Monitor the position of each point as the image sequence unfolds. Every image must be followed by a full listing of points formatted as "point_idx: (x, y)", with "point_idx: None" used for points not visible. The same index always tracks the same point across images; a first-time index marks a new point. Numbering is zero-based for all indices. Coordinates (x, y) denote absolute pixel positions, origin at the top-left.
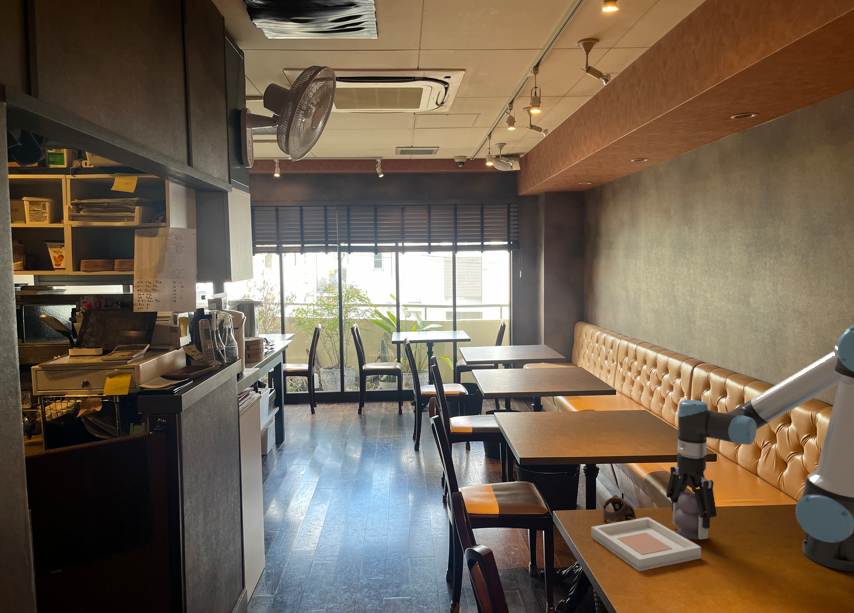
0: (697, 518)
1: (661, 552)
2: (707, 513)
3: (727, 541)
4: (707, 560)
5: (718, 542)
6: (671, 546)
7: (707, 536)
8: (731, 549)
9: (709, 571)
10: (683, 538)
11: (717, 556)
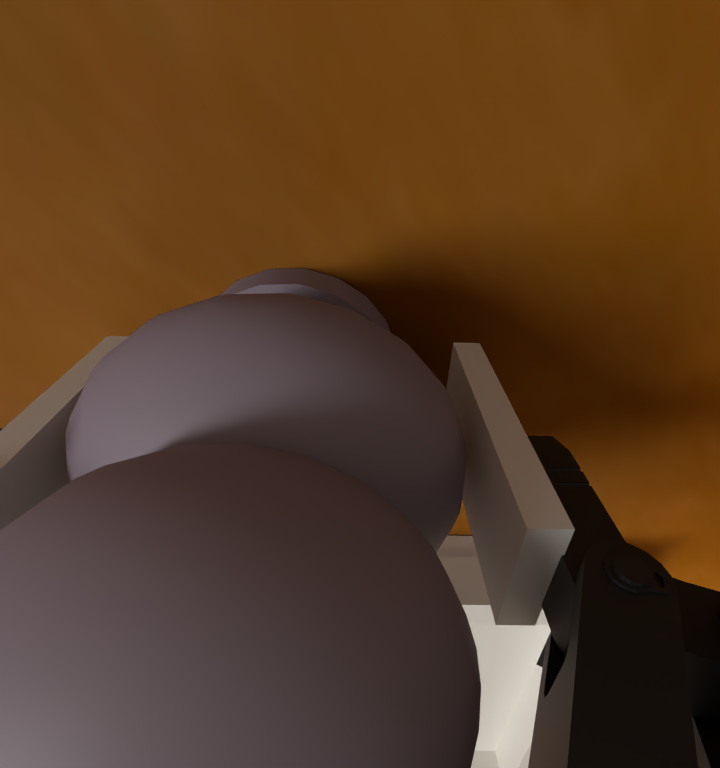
0: (436, 548)
1: (530, 745)
2: (712, 738)
3: (581, 123)
4: (641, 524)
5: (537, 246)
6: None
7: (481, 354)
8: (695, 249)
9: (708, 585)
10: (482, 614)
11: (662, 443)
